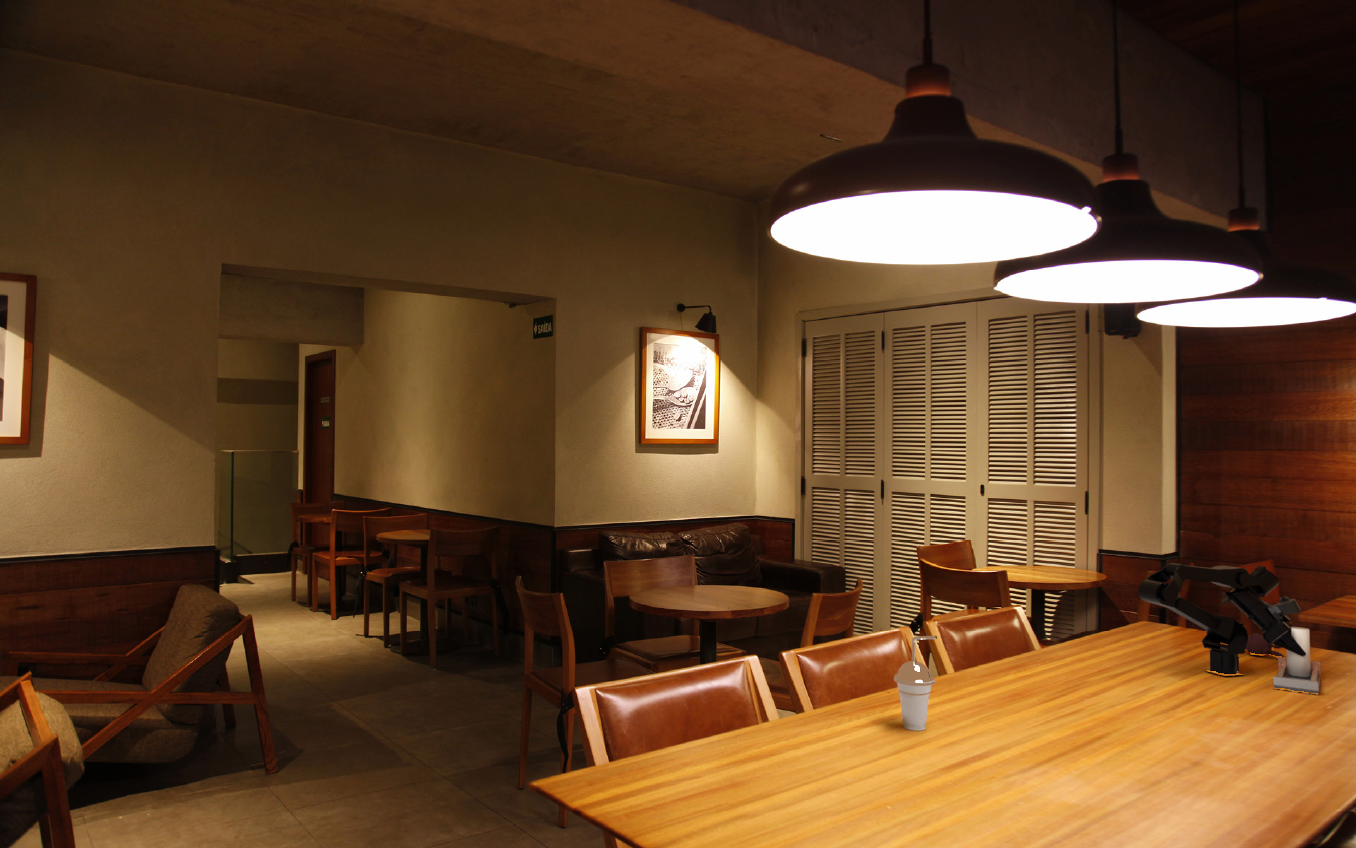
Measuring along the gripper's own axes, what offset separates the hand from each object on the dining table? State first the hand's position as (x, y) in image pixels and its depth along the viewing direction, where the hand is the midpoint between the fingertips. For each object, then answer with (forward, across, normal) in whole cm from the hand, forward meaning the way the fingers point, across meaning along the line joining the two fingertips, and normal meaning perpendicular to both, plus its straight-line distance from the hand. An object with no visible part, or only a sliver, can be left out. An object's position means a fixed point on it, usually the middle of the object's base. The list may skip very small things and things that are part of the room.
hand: (1304, 653), depth 225 cm
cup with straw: (-42, -101, +53) cm, 122 cm away
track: (+4, -6, +6) cm, 9 cm away
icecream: (-3, +27, +13) cm, 30 cm away
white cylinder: (+3, 0, +5) cm, 6 cm away
